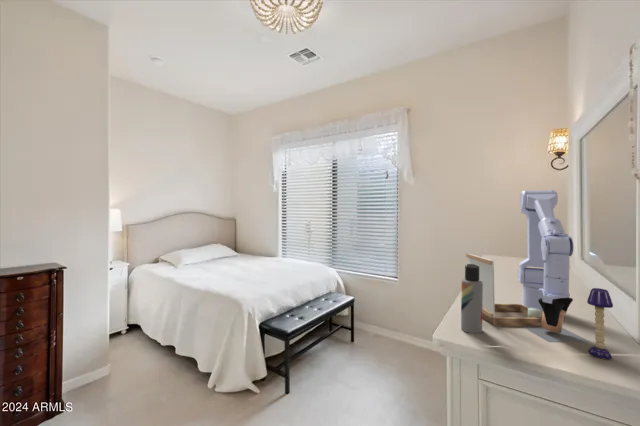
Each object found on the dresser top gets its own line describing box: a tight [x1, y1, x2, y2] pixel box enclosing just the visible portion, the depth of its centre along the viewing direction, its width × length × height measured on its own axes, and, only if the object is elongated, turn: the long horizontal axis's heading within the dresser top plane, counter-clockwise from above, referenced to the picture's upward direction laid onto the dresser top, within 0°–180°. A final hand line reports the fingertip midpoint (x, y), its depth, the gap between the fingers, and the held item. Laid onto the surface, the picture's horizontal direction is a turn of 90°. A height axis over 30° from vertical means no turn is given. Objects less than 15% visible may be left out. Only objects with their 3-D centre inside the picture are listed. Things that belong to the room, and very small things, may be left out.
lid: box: [465, 253, 496, 318], centre depth 95 cm, size 18×14×1 cm
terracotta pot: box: [540, 309, 567, 333], centre depth 83 cm, size 5×5×6 cm
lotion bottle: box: [460, 263, 483, 334], centre depth 85 cm, size 6×6×20 cm
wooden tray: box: [482, 303, 543, 327], centre depth 95 cm, size 18×14×3 cm
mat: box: [522, 326, 592, 343], centre depth 82 cm, size 12×10×1 cm
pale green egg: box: [528, 308, 543, 318], centre depth 91 cm, size 4×4×4 cm
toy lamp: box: [586, 287, 614, 360], centre depth 71 cm, size 5×5×17 cm
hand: (555, 323), depth 82 cm, fingers closed on terracotta pot, 5 cm apart
